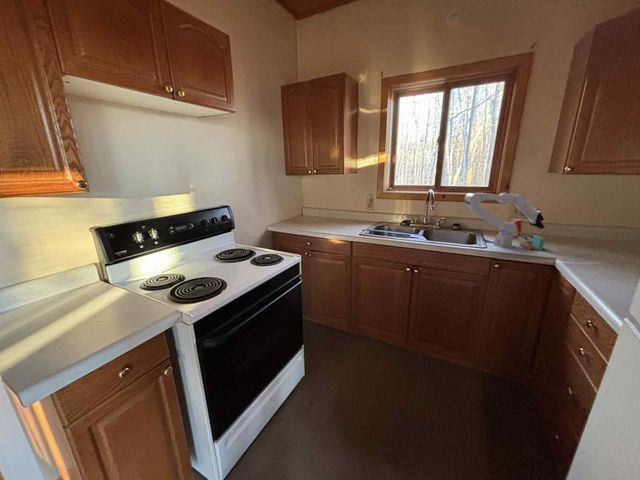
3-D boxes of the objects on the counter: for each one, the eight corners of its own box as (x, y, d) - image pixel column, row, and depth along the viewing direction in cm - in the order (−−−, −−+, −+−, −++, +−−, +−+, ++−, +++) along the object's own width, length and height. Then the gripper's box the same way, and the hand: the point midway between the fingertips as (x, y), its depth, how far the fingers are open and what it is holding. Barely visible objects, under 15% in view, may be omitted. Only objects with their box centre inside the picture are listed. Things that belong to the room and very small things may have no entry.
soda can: (518, 237, 189) (521, 220, 185) (507, 235, 194) (509, 219, 191) (522, 236, 193) (525, 219, 189) (511, 234, 198) (513, 218, 195)
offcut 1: (522, 247, 164) (523, 242, 163) (519, 245, 168) (520, 240, 167) (526, 247, 163) (527, 242, 162) (523, 245, 167) (524, 240, 166)
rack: (525, 251, 159) (525, 248, 159) (518, 246, 169) (518, 243, 168) (545, 252, 157) (546, 249, 156) (537, 247, 166) (538, 244, 165)
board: (538, 250, 158) (540, 238, 156) (531, 246, 166) (533, 235, 164) (542, 250, 157) (544, 239, 155) (535, 246, 166) (537, 235, 164)
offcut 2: (525, 249, 159) (526, 245, 159) (522, 247, 164) (523, 243, 163) (529, 250, 159) (530, 245, 158) (526, 248, 163) (527, 243, 162)
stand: (525, 245, 170) (526, 241, 169) (517, 240, 181) (518, 236, 180) (536, 246, 168) (537, 241, 168) (527, 241, 180) (528, 236, 179)
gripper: (534, 213, 156) (550, 228, 157) (534, 199, 164) (549, 213, 166) (521, 219, 161) (537, 233, 163) (522, 205, 170) (536, 219, 171)
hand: (542, 224), depth 164 cm, fingers open, 7 cm apart
